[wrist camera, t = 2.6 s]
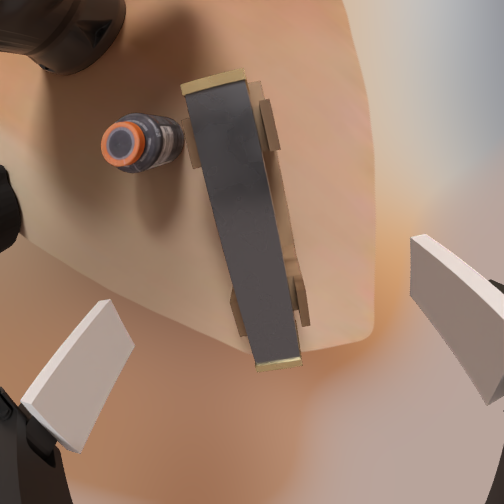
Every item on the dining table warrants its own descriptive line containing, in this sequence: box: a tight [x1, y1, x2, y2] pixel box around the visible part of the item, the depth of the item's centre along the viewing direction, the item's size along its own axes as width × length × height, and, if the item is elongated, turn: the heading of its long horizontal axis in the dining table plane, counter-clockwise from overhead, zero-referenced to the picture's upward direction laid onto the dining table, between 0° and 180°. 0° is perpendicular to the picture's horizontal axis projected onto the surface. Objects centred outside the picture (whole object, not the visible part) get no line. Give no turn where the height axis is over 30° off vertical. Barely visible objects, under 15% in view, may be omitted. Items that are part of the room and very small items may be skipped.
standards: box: [181, 81, 310, 337], centre depth 28 cm, size 7×28×12 cm, turn 12°
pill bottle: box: [101, 113, 184, 173], centre depth 26 cm, size 6×6×11 cm
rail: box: [180, 68, 302, 372], centre depth 23 cm, size 24×4×6 cm, turn 12°
